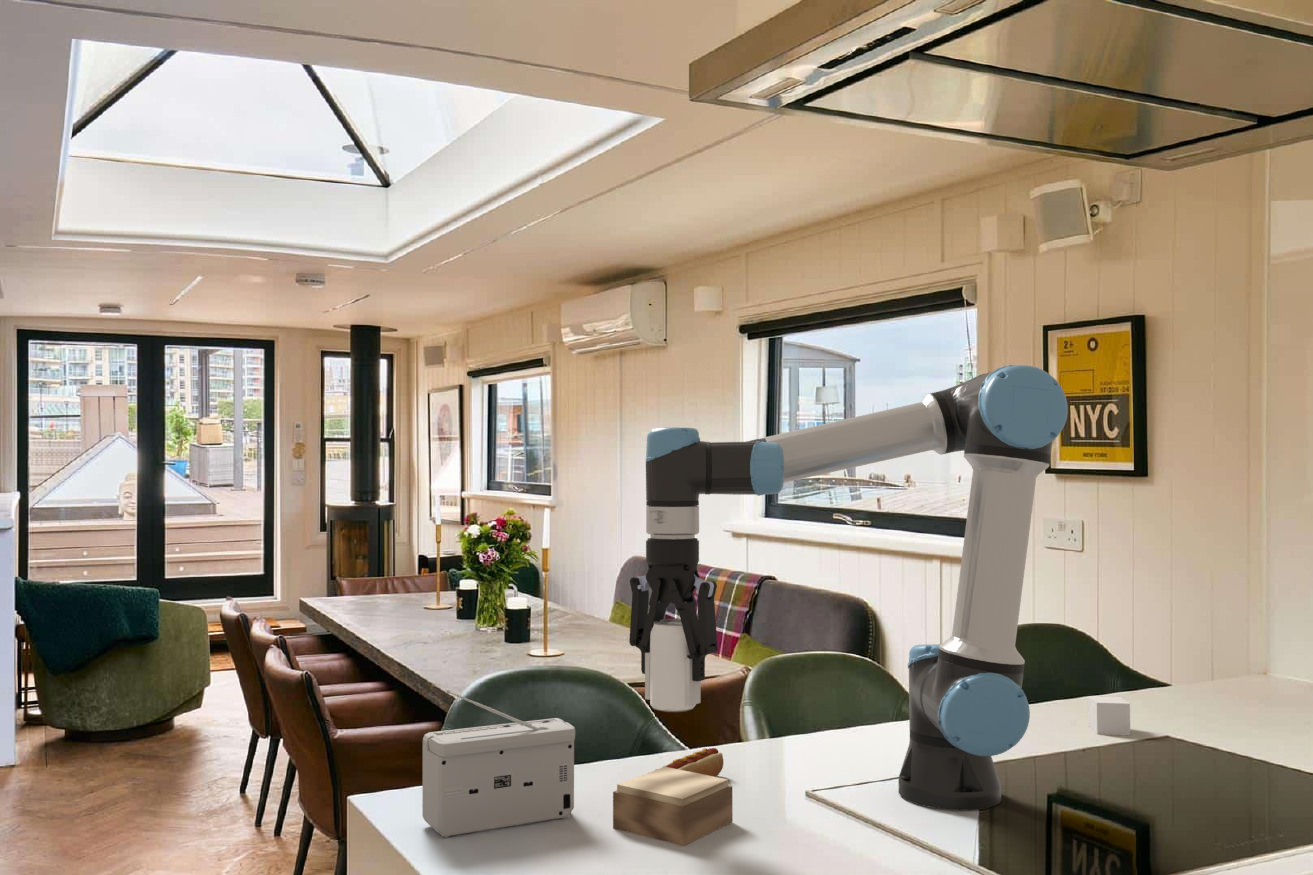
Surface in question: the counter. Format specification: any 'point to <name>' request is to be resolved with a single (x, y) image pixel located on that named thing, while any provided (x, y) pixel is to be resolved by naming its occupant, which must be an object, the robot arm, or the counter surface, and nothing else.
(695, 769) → the food
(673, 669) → the can
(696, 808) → the pedestal
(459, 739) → the stereo radio cassette player
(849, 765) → the counter surface
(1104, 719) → the grey cube
